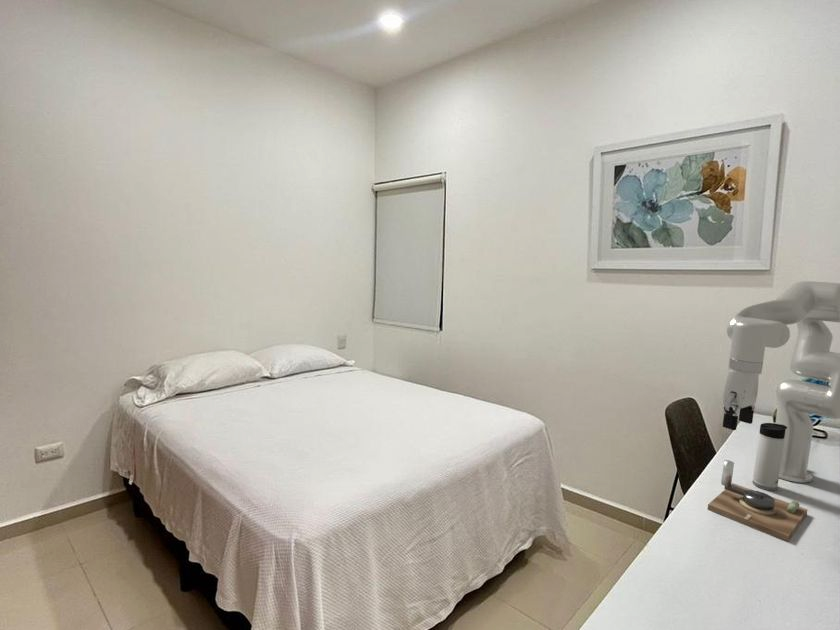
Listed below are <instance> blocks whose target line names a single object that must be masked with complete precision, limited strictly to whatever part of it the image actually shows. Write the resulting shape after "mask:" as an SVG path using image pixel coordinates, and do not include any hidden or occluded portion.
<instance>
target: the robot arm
mask: <svg viewBox="0 0 840 630" xmlns="http://www.w3.org/2000/svg"><path fill="white" fill-rule="evenodd" d="M824 322H831V323H840V283H839V282H826V281H810V280H809V281H807V280H805V281H798V282H795V283H793V284H791V285H790V286H789V287H788V288H787V289H785V291H783V292H782V293H781V294H780V295H779V296H777V298H775V299H773V300H772V299H771V300H768V301H764V302H760V303H756V304H752V305H749V306H747V307H745V308H742V309H741V310H740V311H739V312H737V313H736V314H735V315H733V316H732V318H731V319H730V321H728V324H727V326H726V335H727V337H728V338H729V339H730V340H731V345H730V353H729V359H728V361H729V362H728V368H727V369H728V373H727V376H726V380H725V383H724V389H723V394H722V401H721V402H722V404H723V419H722V427H723V428H725V429H728V430H731V431H736V430H737V427H738V420H739V422H742V423H745V424H749V425H752V424H753V420H754V414H755V413H754V412H755V410H756V409H755V407H756V406H755V403H756V402H757V398H758V391H759V377H760V375H762V373H763V372H762V371H763V366H764V358H765V351H766V350H765V349H766V348H771V349H772V348H773V349H776V348H777V349H778V348H780V347H782V346H785V345H786V344H787V342H788V341H789V339H790V336H791V331H790V328H789V327H788V325H795V324H796V326H797V337H796V341H795V345H794V347H793V352H792V355H791V359H790V364H789V366H790V367H789V369H790V371H791V373H792V374H794V375H796V376H799V377H804V378H805V379H811V380H816V381H821V382H827V383H830V386H827V385H823V384H818V383H814V382H809V381H804V380H799V379H791V378H790V379H784V380H782V381H780V382H779V383H778V384H777V387H776V389H775V390H776V391H775V398H776V416H775V417H776V418H775V422H774V423H775V424H780V425H781V424H782V425H785V426H786V427H787V429H786V431H785V439H784V446H783V453H782V460H781V467H780V474H779V479H780V480H781V479H782V480H785V481H789V482H792V483H800V484H801V483H805V484H806V483H810V482H811V481H812V480H813V476H812V474H811V473H810V472H808V466H809V465H808V464H809V460H810V459H809V458H810V453H811V445H812V440H813V433H814V423H813V421H812V419H811V416H810V415H809V414H811V415H814V416H819V417H823V418H827V419H831V420H839V419H840V352H835V351H830V349H831V346H832V342H833V338H834V337H833V334H832V332H831V330H830V328H829V327H828V326H827V324H826V323H824ZM738 413H739V416H738Z"/></svg>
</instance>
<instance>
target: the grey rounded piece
mask: <svg viewBox="0 0 840 630" xmlns="http://www.w3.org/2000/svg"><path fill="white" fill-rule="evenodd" d="M722 465H723V467H722V473H721V485H722V486H724V490H725V489H726V490H729V491H731V492H734V493H737V494H740V495H742V496H743V501H744V502H745V503H746V504H748V505H750V506H752V507H755V508H758V509H761V510H773V509H774V504H775V500H774V498H775V497H774V498H773V496H771V495H769V494H767V493H765V492H762V491H759V490H753V489H751V490H744V489H741V488H738V487H735V486H732V485H731V484H732V483H733V475H734V473H733V472H734V466H735V462H734V461H732V460H729V459H728V460H727V459H725V460H723V464H722Z"/></svg>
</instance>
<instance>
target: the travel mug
mask: <svg viewBox="0 0 840 630" xmlns="http://www.w3.org/2000/svg"><path fill="white" fill-rule="evenodd" d="M775 423H776V422H774V423H773V422H763V423H761V424H760V426H759V427H760V428H759V432H758V440H757V445H756V453H755V461H754V466H753V467H754V468H753V475H752V484H753V485H754V486H755V487H756V488H760V489H762V490H765V491H771V492H773V491H774V492H775V491H777V490H778V488H779V487H778V486H779V479H780V478H779V474H780V467H781V460H782V453H783V446H784V439H785V431H786V429H787V427H786V426H785V425H782V424H781V425H780V424H775Z"/></svg>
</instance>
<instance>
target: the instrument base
mask: <svg viewBox="0 0 840 630" xmlns="http://www.w3.org/2000/svg"><path fill="white" fill-rule="evenodd" d="M731 485H732V486H735V487H738V488H741V489H744V490H752V489H751V488H748V487H745V486H742V485H740V484H738V483H737V484H736V483H733V482H732V483H731ZM772 497H773V496H772ZM773 498H774V500H775V504H774V509H773V510H761V509H758V508H755V507H752V506H750V505H748V504H746V503H745V502H744V501H743V496H742V495H740V494H737V493H734V492H731V491H729V490H726V489H725V488H724V490H723V491H721V493H719V494H718V495H717V496H716V497H715V498H713V499H712V500H711V501H710V502H709V503H708V504H707V510H709V511H710V510H711V512H712V513H716V514H719V515H721V516H723V517H726V518H728V519H730V520H732V521H736V522H738V523H740V524H743V525H745V526H748V527H749V528H750V527H751V528H753V529H755V530H758V531H761V532H763V533H766V534H768V535H770V536H773V537H775V538H777V539H779V540H783V541H785V542H787V543H788V542H789V540H791V538H792V536H793V535H794V534H795V532H796V531H797V529H798V528H799V527H800V525H801V524H802V522H803V521H804V519H805V518H806V516H807V514H808V509H807V508H804V507H802V506H800V503H799V502H798V501H796V500H792V501H791V502H787V501H785V500H782V499H779V498H776V497H773Z"/></svg>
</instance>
